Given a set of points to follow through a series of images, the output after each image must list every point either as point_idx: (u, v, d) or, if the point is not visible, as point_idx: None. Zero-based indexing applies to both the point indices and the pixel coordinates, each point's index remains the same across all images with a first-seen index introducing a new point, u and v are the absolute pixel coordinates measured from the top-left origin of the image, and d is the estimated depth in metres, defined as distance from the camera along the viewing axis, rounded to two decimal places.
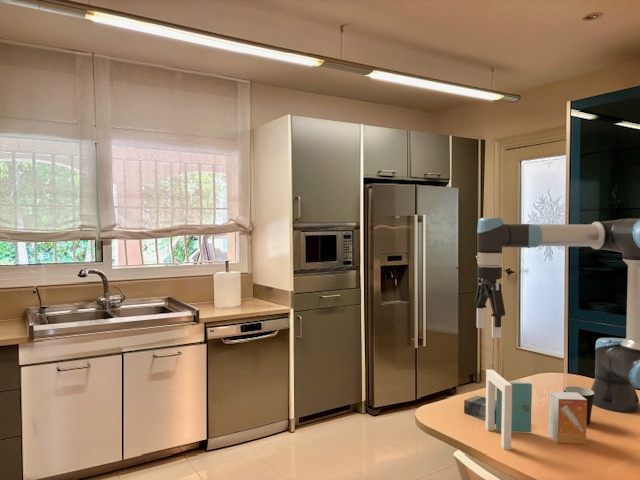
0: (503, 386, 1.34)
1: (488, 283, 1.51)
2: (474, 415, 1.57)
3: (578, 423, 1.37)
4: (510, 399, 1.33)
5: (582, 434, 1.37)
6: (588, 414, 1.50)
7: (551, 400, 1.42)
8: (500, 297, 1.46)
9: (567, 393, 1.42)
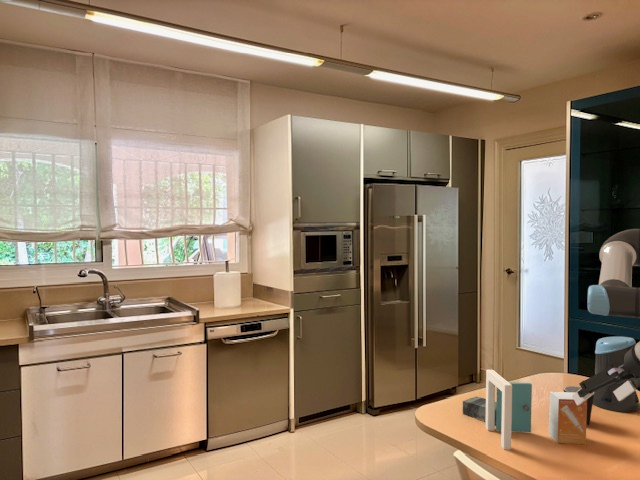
0: (503, 386, 1.34)
1: None
2: (473, 416, 1.56)
3: (578, 423, 1.37)
4: (510, 399, 1.33)
5: (582, 434, 1.37)
6: (588, 414, 1.50)
7: (551, 400, 1.42)
8: None
9: (567, 393, 1.42)
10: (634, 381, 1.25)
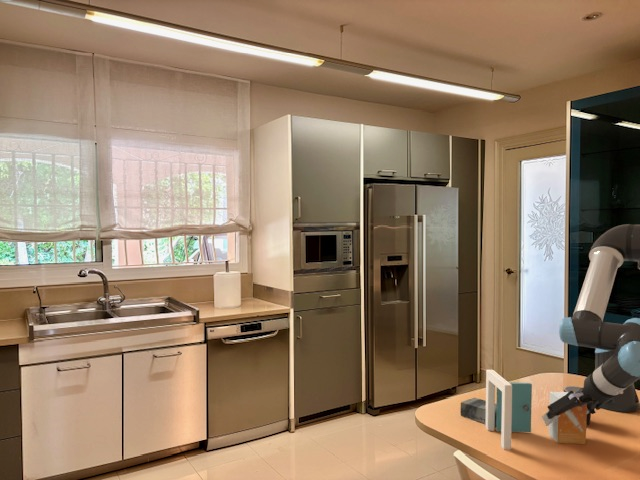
0: (503, 386, 1.34)
1: None
2: (470, 417, 1.55)
3: (578, 423, 1.37)
4: (510, 399, 1.33)
5: (582, 434, 1.37)
6: (588, 414, 1.50)
7: (551, 400, 1.42)
8: None
9: None
10: (589, 404, 1.38)
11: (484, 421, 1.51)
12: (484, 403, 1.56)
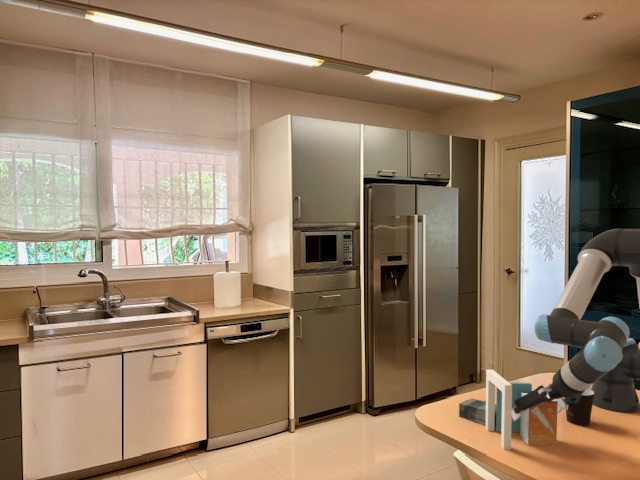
0: (503, 386, 1.34)
1: None
2: (469, 419, 1.54)
3: (548, 424, 1.36)
4: (510, 399, 1.33)
5: (553, 436, 1.36)
6: (588, 414, 1.50)
7: None
8: None
9: None
10: (565, 398, 1.36)
11: (484, 422, 1.50)
12: (483, 404, 1.55)
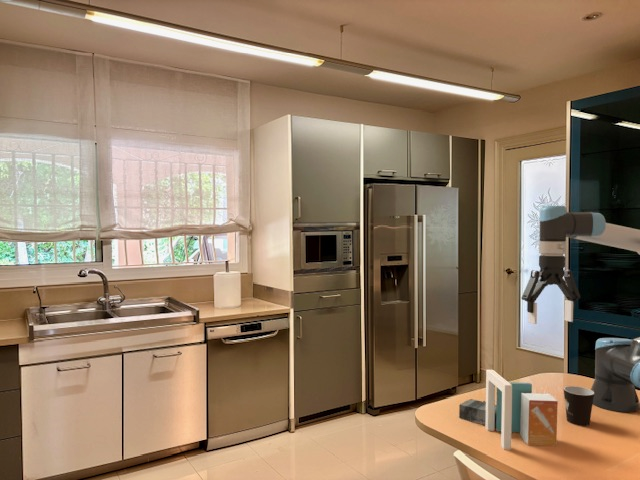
0: (503, 386, 1.34)
1: (560, 271, 1.52)
2: (470, 419, 1.53)
3: (548, 424, 1.36)
4: (510, 399, 1.33)
5: (553, 435, 1.36)
6: (588, 414, 1.50)
7: (522, 402, 1.41)
8: None
9: (538, 394, 1.41)
10: (566, 293, 1.54)
11: (485, 423, 1.50)
12: (482, 404, 1.55)
